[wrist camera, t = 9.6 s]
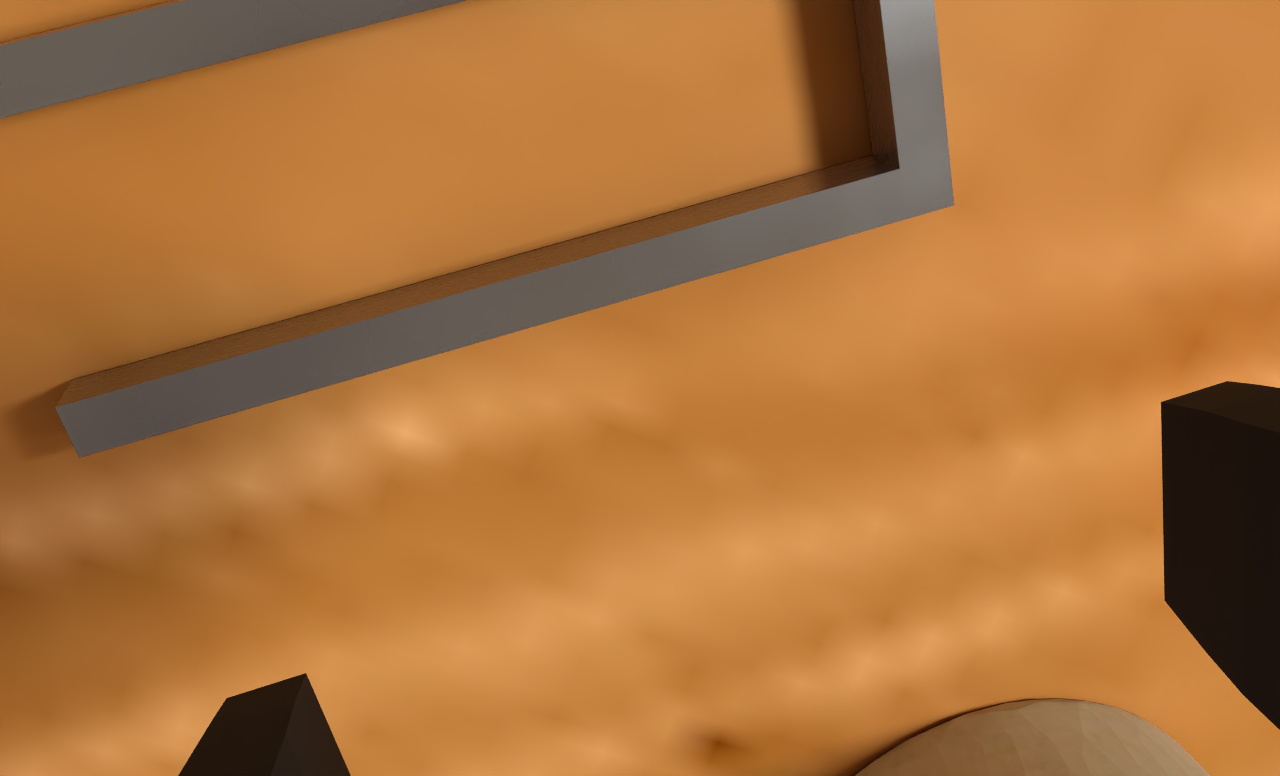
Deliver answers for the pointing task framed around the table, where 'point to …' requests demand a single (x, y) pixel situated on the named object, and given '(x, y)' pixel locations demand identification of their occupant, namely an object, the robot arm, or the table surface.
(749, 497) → the table surface
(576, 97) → the table surface
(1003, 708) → the beige teapot
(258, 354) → the track
